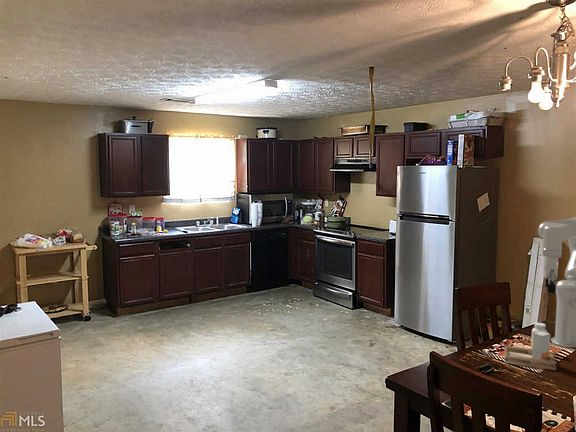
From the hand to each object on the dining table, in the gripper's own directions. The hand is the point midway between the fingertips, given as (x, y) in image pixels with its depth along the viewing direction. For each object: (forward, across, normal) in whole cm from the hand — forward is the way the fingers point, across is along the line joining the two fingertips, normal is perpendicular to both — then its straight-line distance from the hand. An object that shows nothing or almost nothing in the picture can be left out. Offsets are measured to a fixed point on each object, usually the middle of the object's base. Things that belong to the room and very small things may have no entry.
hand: (550, 289), depth 221 cm
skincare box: (+30, +9, -4) cm, 32 cm away
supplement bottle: (+32, -6, -3) cm, 32 cm away
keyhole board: (+31, +9, -8) cm, 33 cm away
